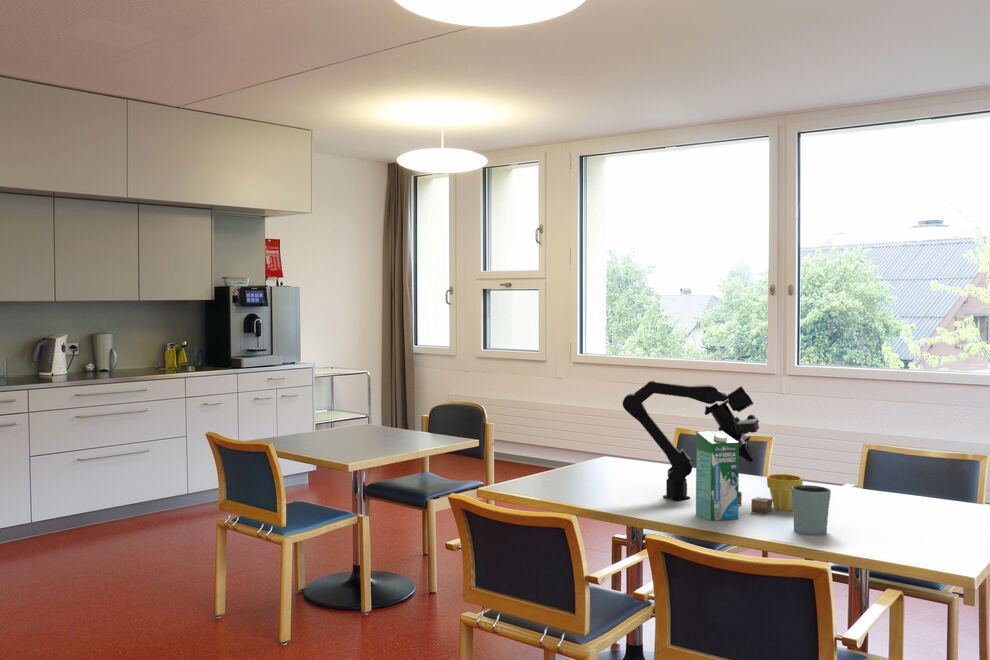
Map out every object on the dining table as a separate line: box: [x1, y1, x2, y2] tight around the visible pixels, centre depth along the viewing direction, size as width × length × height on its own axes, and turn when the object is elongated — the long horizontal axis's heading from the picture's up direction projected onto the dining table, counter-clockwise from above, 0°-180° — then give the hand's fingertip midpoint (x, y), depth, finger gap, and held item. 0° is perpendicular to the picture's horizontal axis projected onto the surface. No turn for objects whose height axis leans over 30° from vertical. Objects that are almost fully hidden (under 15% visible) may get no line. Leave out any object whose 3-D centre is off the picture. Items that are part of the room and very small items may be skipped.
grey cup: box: [791, 484, 832, 536], centre depth 225 cm, size 10×10×12 cm
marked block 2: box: [750, 496, 773, 515], centre depth 248 cm, size 4×4×4 cm
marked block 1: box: [738, 490, 743, 505], centre depth 260 cm, size 4×4×4 cm
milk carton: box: [695, 430, 740, 522], centre depth 242 cm, size 9×9×25 cm
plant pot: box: [766, 473, 804, 511], centre depth 253 cm, size 10×10×10 cm
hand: (752, 461), depth 262 cm, fingers closed
